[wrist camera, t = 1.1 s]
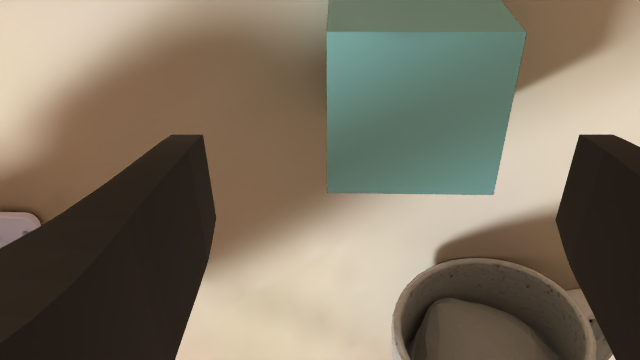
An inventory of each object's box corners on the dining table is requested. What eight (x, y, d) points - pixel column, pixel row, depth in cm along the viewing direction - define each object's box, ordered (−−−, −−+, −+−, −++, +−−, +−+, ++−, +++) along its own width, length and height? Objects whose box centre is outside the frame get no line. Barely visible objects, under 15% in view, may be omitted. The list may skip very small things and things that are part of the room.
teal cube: (463, 116, 21) (493, 194, 17) (330, 115, 21) (326, 192, 17) (484, -21, 18) (526, 32, 14) (330, -21, 18) (326, 32, 14)
